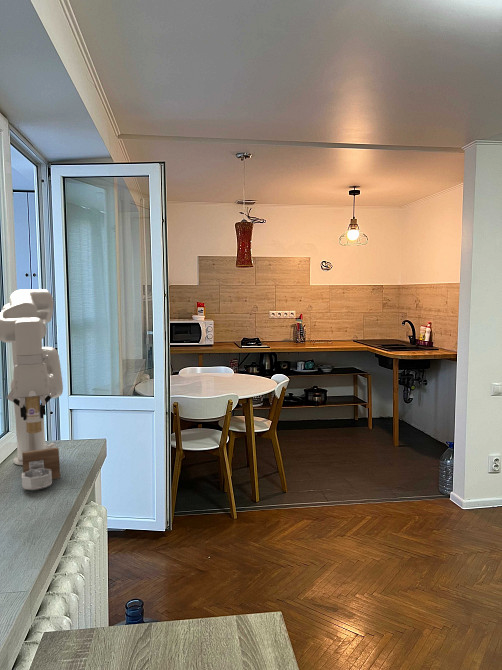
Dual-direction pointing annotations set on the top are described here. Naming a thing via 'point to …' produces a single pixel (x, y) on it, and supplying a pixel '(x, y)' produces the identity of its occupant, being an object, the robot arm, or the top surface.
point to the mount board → (49, 459)
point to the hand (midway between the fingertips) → (33, 417)
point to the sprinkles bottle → (33, 413)
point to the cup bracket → (36, 476)
